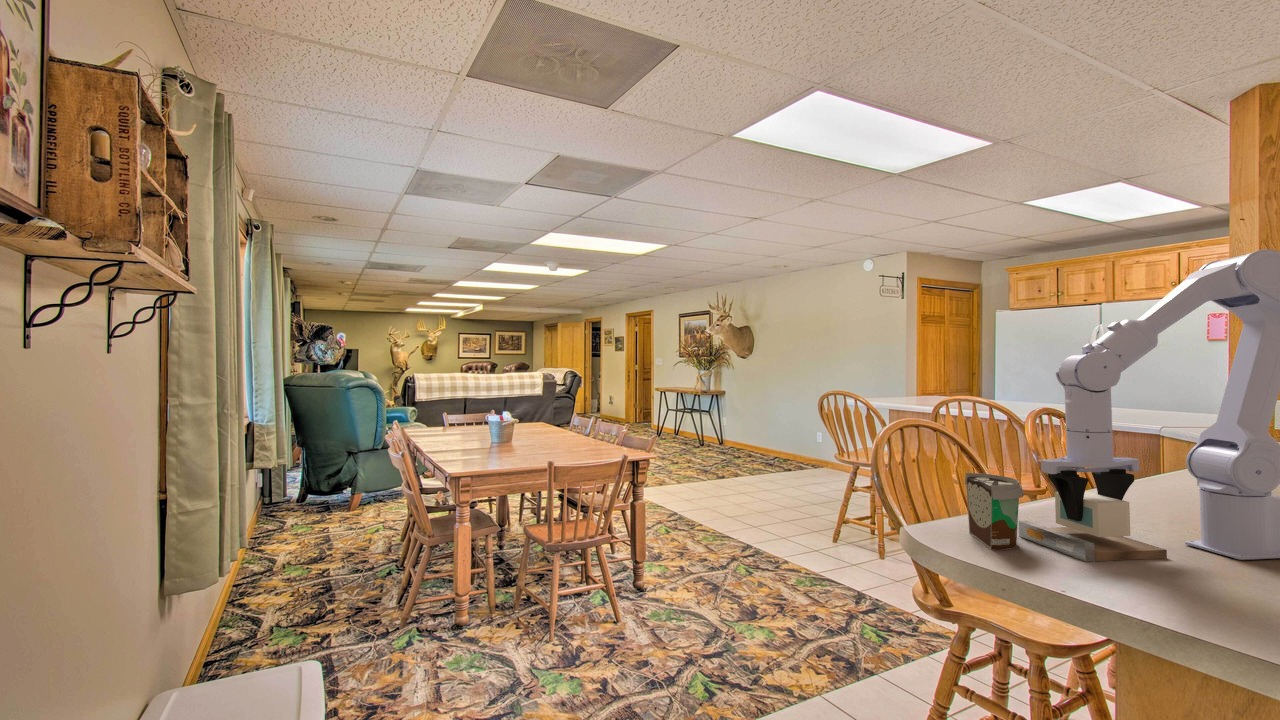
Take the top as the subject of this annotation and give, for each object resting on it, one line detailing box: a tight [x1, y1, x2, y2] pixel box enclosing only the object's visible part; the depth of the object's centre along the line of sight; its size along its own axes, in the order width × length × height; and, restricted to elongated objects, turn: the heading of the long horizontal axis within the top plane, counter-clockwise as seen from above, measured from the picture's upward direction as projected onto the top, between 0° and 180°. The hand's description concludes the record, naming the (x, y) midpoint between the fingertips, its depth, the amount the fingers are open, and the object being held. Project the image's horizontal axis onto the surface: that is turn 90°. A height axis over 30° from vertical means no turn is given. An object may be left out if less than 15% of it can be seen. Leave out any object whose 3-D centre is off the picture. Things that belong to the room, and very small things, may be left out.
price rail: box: [1018, 520, 1096, 563], centre depth 89 cm, size 2×13×2 cm, turn 5°
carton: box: [1054, 491, 1131, 537], centre depth 90 cm, size 8×5×5 cm, turn 4°
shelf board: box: [1049, 526, 1168, 562], centre depth 89 cm, size 11×13×1 cm
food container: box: [964, 472, 1025, 551], centre depth 93 cm, size 12×6×10 cm, turn 168°
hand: (1091, 519), depth 90 cm, fingers closed on carton, 5 cm apart
